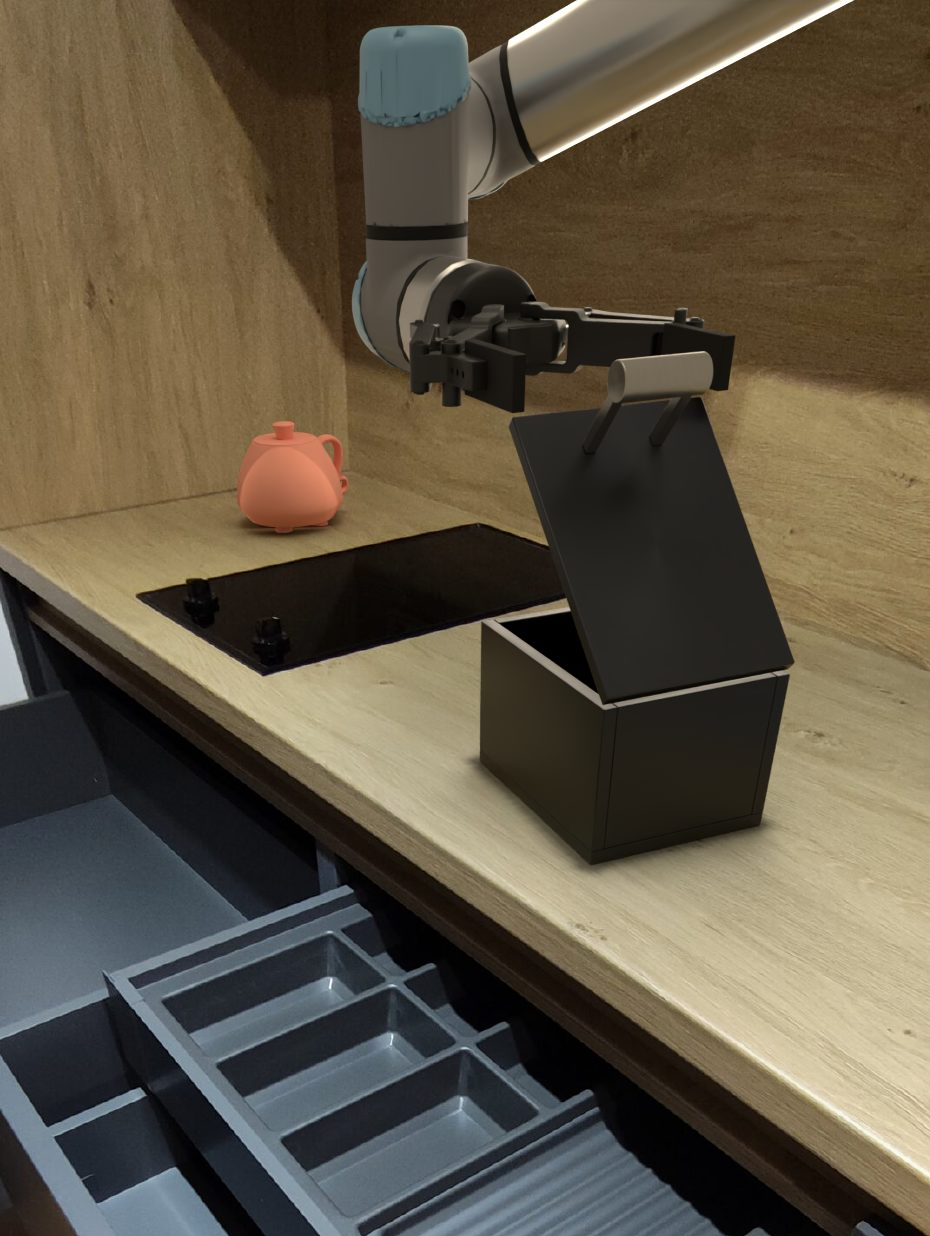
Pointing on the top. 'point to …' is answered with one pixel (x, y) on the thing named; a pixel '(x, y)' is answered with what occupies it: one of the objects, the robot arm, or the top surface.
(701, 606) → the bin lid
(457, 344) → the robot arm
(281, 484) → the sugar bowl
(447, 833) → the top surface
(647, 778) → the bin
